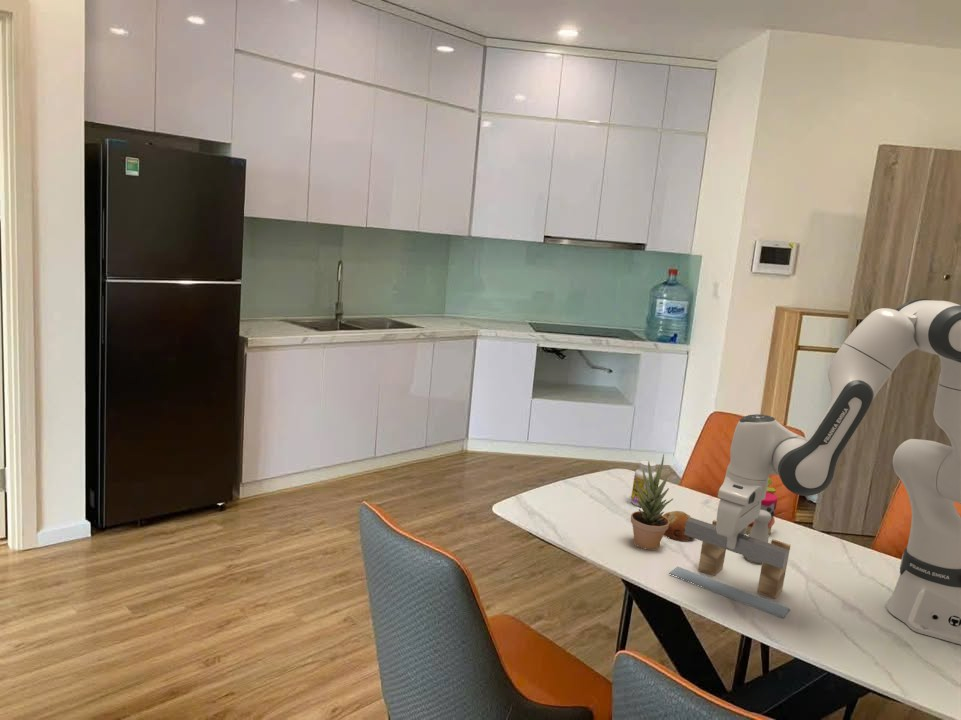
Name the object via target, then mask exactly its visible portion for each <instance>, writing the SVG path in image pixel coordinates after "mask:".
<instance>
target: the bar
mask: <svg viewBox="0 0 961 720" xmlns="http://www.w3.org/2000/svg"><path fill="white" fill-rule="evenodd" d="M684 535H686V536H689V537H692V538H694V539H695V540H699V541H701V542H706V543H709V544H712V545H715V546H718V547H721V548H724V549H726V551H730V552H732V553H736V554H738V555H742V556H744V557H746V556H747V557H750V558H753V559H755V560H758V561H761V562H764V563H767V564H770V565H773V566H776V567H779V568H781V569H783V568H784V566H785V565H786V562H787V557H788V558H789V556H788V552H789V553H790V551H789V549H785V548H782V547H779V546H776V545H773V544H771V542H768V543H767V542H764V541H761V540H758V539H755V538H752V537H749V535H747V534H744V535H743V534H740V533H738V535H737V546H736V548H735V549H730V548H727V537H725V536H722V535H719V534H717V531H716V525H713V524H712V523H710V522H707V521H703V520H700V519H696V518H694V517H691V518H690V519H688V520H687V521H686V526H685V532H684ZM787 563H788V562H787Z"/></svg>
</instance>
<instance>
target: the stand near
mask: <svg viewBox="0 0 961 720" xmlns="http://www.w3.org/2000/svg"><path fill="white" fill-rule="evenodd" d="M770 544H773V545H776V546H779V547H782V548H785V549H789V552H788V557H787V562H786V565H785V566H784V568H783V569H781V568H779V567H776V566H773V565H770V564H767V563H764V562H762V563H761V566H760V567H761V568H760V573H759V574H760V575H759V580H758V584H757V589H756V592H757V593H758V594H761V595H764V596H767V597H770V598H772V599H776V598H777V597H778V596H779V594H780V593H781V592H782V591H783V587H784V584H785V583H784V582H785V578H786V572H787V566H788V560H789V557H790V550H791V544H789V543H786V542H784V541H780V540H777V539H771V542H770Z"/></svg>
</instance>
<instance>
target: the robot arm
mask: <svg viewBox="0 0 961 720" xmlns="http://www.w3.org/2000/svg"><path fill="white" fill-rule="evenodd" d="M915 350H918V351H921V352H923V353H926V354H930V355H936V356H938V357H939V360H940V367H941V368H940V372H939V377H938V380H937V381H938V383H937V388H936V395H935V399H934V400H935V401H934V406H933V413H932V415H933V418H934V421H935V424H936V425H937V426H938V427H939V428H940V429H941V430H942V431H944V433H945V434H946V436H947V438H948V439H949V442H950V445H951V446H950V445H947V444H944V443H941V442H938V441H934V440H930V439H929V440H927V439H920V438H909V439H907V440H905V441H903V442H902V443H901V444H899V445H898V447H897V448H896V449H895V451H894V454H893V457H892V466H893V471H894V473H895V474H896V476H897V477H898V478H899V479H900V481H901V483H902V484H903V486H904V488H905V490H906V493H907V495H908V496H907V497H908V499H909V503H910V507H911V508H910V509H911V524H910V531H909V536H908V542H907V546H906V547H905V549H904V551H903V553H902V556H901V560H900V565H899V576H898V580H897V582H896V585H895V587H894V588H893V589H894V590H893V592H892V594H891V596H890V597H889V599H888V600H887V602H886V604H885V607H886V609H887V611H888V613H890V614H891V615H892V616H894V617H895V618H897V619H898V620H900V621H901V622H903V623H904V624H906V626H907V627H909V629H910V630H912V631H913V632H916V633H917V634H922V635H925V636H929V637H932V638H936V639H939V640H943V641H946V642H950V643H953V644H956V645H957V644H958V645H960V646H961V515H960V514H959V513H958V510H957V508H956V505H955V502H956V503H958V504H961V304H957V303H955V302H953V301H952V302H951V301H947V300H936V299H935V300H934V299H933V300H932V299H929V298H917V299H913V300H910V301H906V302H905V303H903V304H902V305H900V306H899V307H898V308H896V309H893V308H888V307H886V308H885V307H884V308H883V307H882V308H878V309H875V310H873V311H872V312H871V313H869V314H868V315H867V316H866V317H865V318H864V319H862V321H861V322H860V323H859V324H858V325H857V326H856V327H855V328H854V329H853V331H852V332H851V333H850V334H849V335H848V336H847V338H845V340H844V342H843V343H842V344H841V345H840V347H839V349H837V351H836V353H835V354H834V355H833V358H832V360H831V363H830V365H829V367H828V369H827V377H828V382H829V385H830V390H831V391H830V393H831V398H830V403H829V406H828V409H826V412H825V413H824V414H823V416H822V418H821V420H820V421H819V423H818V424H817V426H816V427H815V429H814V430H813V432H812V433H811V435H810V437H809V438H808V439H807V438H806V437H804V436H802V435H801V434H797V433H796V432H793V431H791V430H789V429H788V428H786V427H785V426H784V425H782V424H781V423H780V422H779V421H777V420H776V418H775V417H774V416H771V415H767V414H766V415H765V414H748V415H745V416H743V417H741V418H740V419H739V420H738V422H737V424H736V426H735V429H734V432H733V436H732V441H731V444H730V453H729V454H730V460H729V463H728V465H727V468H726V471H725V477H724V480H723V483H722V484H721V486H720V487H719V490H718V492H717V498H719V499H720V500H719V502H718V506H717V515H716V520H715V521H716V531H717V534H719V535H722V536H725V537H727V548H730V549H735V548H736V546H737V535H738V533H740V534H743V535H746V534H745V532H746V530H747V526H748V525H749V524H751V523H752V522H753V521H754V520H755V519H757V518H758V516H759V513H760V508H761V502H762V500H764V499H765V496H766V491H767V485H768V480H769V478H770V476H771V475H777V476H778V477H779V479H780V480H781V482H782V484H783V486H784V487H785V488H786V489H787V490H788V491H790V492H791V493H793V494H795V495H799V496H801V497H803V496H804V497H807V496H808V497H809V496H814V495H817V494H818V495H819V493H822V492H823V491H824V490H825V489H827V488H828V487H829V485H830V484H831V483H832V480H833V478H834V475H835V470H836V465H837V462H838V459H839V458H840V456H841V454H842V452H843V450H844V449H845V447H846V446H847V444H848V442H850V439H851V438H852V436H853V435H854V433H855V432H856V430H857V428H858V427H859V425H860V423H861V422H862V420H863V419H864V417H865V416H866V414H867V412H868V410H869V408H870V406H871V405H872V403H873V402H874V400H875V398H876V396H877V395H878V393H879V391H880V390H881V389H882V387H883V386H884V385H885V383H886V382H887V381H888V379H889V378H890V376H891V375H892V374H893V372H895V370H896V368H897V367H898V365H899V364H900V362H901V361H902V359H904V358H905V357H906V356H907V355H908V354H910V353H911V352H913V351H915Z"/></svg>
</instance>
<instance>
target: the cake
mask: <svg viewBox="0 0 961 720" xmlns="http://www.w3.org/2000/svg"><path fill="white" fill-rule="evenodd" d="M772 483H773V480H772V479H771V478H770V477H769V480H768V485H767V491H766V496H765V499H764V500H762V502H761V508H760V510H765V511H767V512H769V513H770V514H771V521H770V522H769V523H768V535H769V536H771V532H772V528H773V526H774V525H775V523H776V522H775V517H774V516H775V512H776V509H777V505H778V496H777V494H775V493H776V492H777V491H776V488H774V487H770V485H771V484H772ZM754 522H755V520H754V521H753V522H752V523H751V524H749V525H748V526H747V530H746V532H745V534H744V535H748V534H750V531H751V529H752V526H753V524H754Z"/></svg>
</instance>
